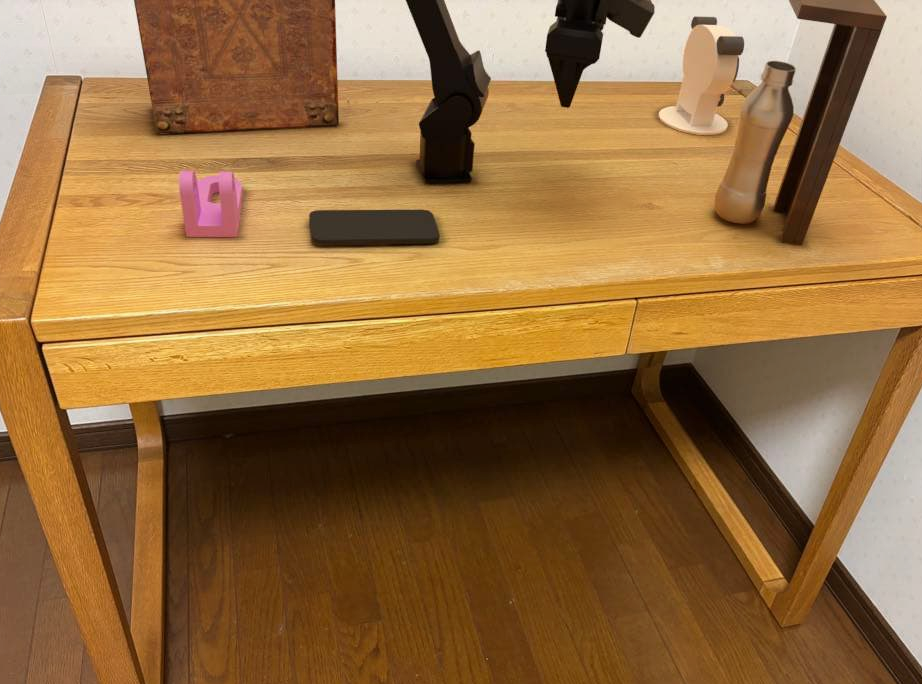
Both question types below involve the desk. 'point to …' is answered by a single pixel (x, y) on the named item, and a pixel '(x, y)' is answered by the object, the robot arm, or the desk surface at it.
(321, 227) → the phone
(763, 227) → the desk surface
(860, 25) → the dark wooden stand
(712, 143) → the desk surface
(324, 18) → the book
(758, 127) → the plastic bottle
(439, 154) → the robot arm
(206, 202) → the bracket
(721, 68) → the beige rounded piece
